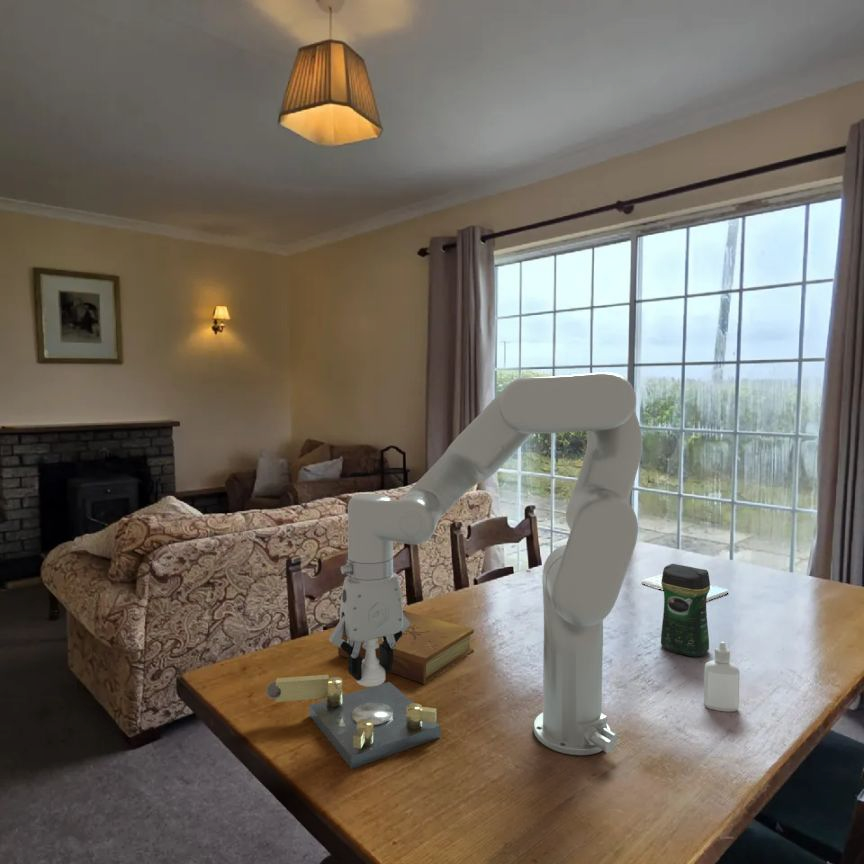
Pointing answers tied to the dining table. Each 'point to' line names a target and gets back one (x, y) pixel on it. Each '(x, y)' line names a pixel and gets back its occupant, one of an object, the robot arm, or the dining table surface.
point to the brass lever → (307, 689)
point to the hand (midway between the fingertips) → (370, 672)
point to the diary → (425, 647)
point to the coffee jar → (685, 610)
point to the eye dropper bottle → (721, 682)
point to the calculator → (712, 594)
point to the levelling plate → (375, 724)
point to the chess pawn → (371, 666)
